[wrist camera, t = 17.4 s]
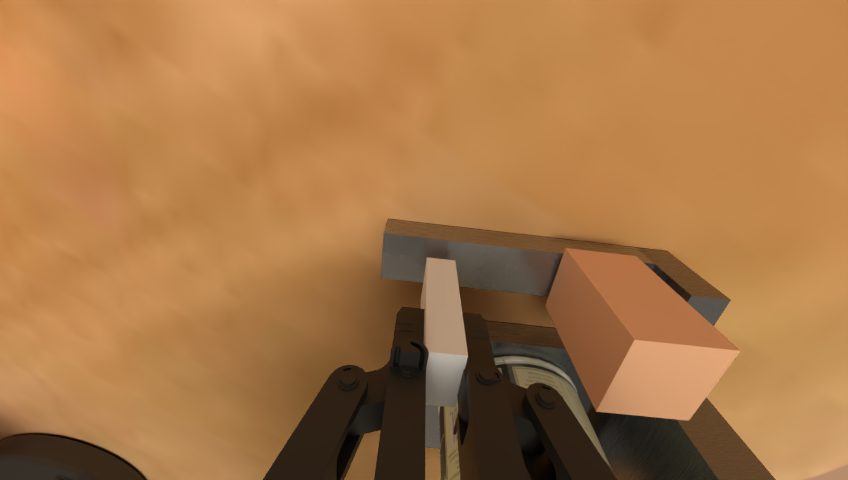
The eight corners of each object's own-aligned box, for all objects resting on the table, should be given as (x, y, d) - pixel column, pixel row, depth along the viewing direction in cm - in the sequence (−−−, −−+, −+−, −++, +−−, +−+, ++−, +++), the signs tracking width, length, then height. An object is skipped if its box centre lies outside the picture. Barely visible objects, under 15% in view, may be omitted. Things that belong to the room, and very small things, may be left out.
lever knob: (545, 306, 20) (595, 411, 14) (565, 248, 18) (634, 339, 12) (609, 312, 20) (688, 420, 14) (636, 256, 18) (740, 351, 12)
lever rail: (385, 261, 22) (372, 310, 17) (388, 218, 20) (375, 260, 16) (646, 290, 22) (700, 345, 18) (666, 251, 21) (730, 299, 16)
